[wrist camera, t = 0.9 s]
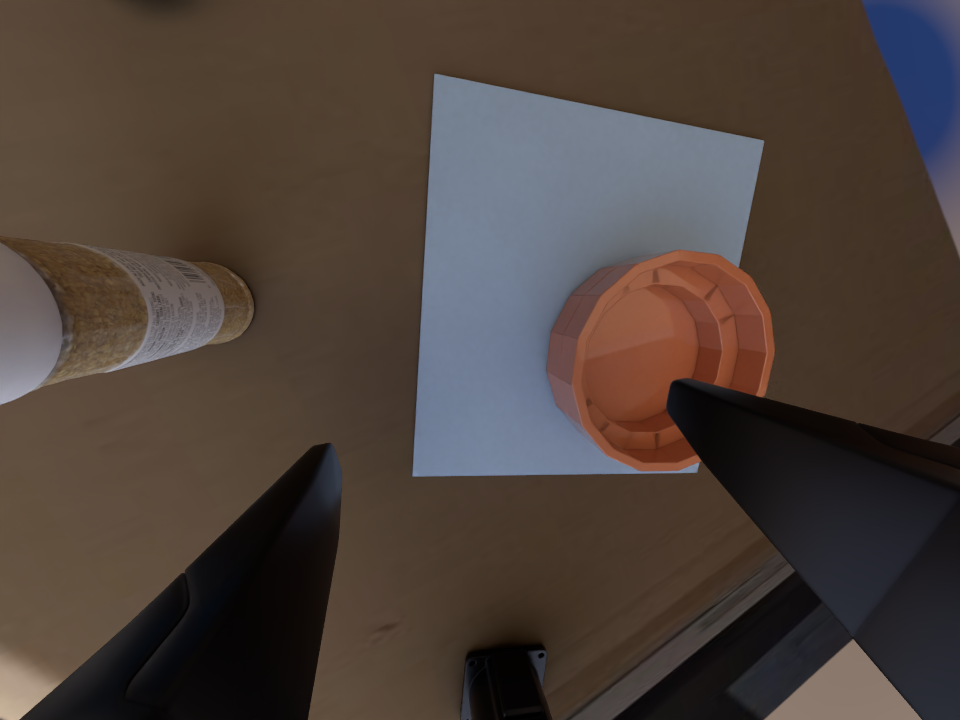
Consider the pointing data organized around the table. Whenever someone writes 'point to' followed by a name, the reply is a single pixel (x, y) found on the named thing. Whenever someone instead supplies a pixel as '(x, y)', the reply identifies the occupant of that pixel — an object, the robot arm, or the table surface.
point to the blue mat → (545, 257)
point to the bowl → (655, 350)
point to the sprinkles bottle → (106, 310)
